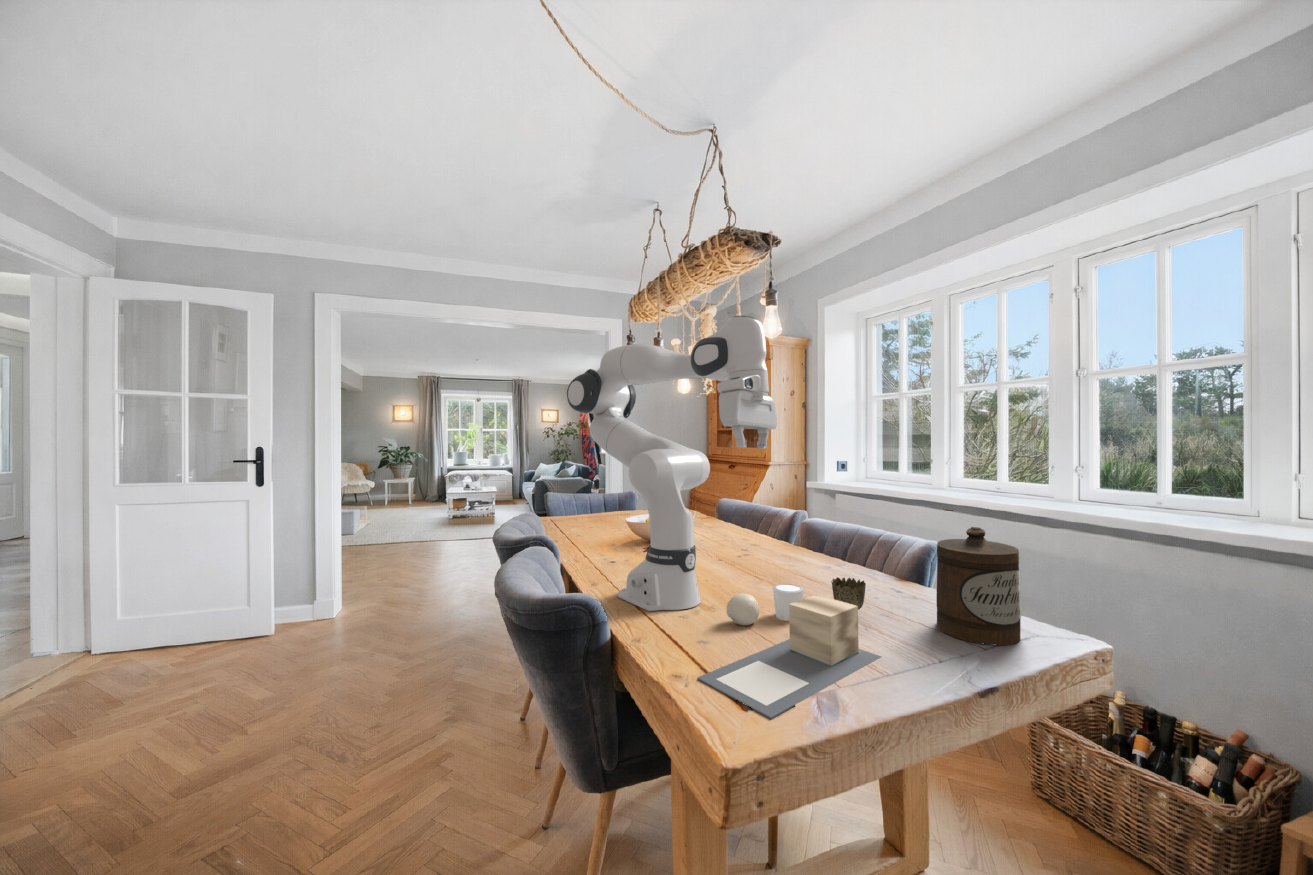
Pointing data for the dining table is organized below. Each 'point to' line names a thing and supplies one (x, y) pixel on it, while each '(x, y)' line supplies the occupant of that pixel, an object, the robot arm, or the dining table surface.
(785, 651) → the charcoal mat
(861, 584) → the cup
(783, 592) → the white cylindrical piece
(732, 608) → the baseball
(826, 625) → the maple cube
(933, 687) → the dining table surface
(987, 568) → the wooden container
